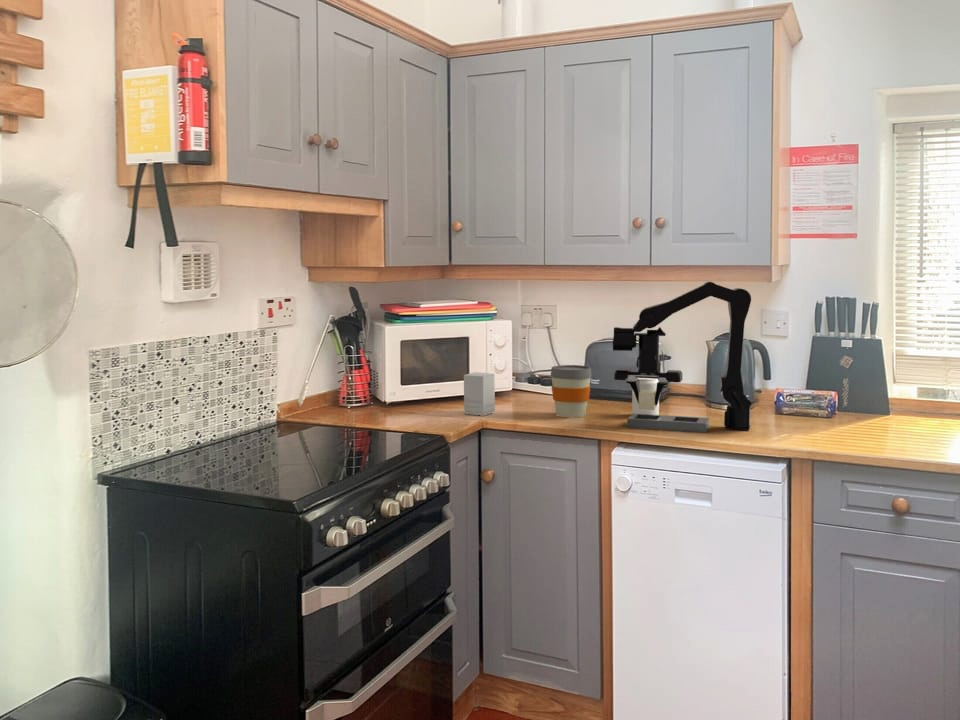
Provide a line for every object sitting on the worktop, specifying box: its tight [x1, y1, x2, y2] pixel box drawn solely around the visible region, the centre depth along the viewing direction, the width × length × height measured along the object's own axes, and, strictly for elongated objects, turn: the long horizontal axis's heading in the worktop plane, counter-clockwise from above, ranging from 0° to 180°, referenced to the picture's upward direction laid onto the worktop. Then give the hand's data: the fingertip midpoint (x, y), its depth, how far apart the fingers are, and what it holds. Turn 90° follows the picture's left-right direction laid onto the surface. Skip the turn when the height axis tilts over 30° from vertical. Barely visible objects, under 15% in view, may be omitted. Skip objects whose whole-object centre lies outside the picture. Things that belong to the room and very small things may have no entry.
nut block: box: [639, 390, 657, 410], centre depth 244 cm, size 4×4×5 cm
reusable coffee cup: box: [550, 364, 593, 418], centre depth 261 cm, size 13×13×15 cm
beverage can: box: [631, 378, 660, 415], centre depth 259 cm, size 8×8×12 cm
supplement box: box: [463, 372, 496, 417], centre depth 265 cm, size 7×7×13 cm
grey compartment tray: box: [626, 413, 710, 433], centre depth 243 cm, size 22×9×2 cm, turn 69°
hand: (647, 404), depth 244 cm, fingers closed on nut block, 4 cm apart
